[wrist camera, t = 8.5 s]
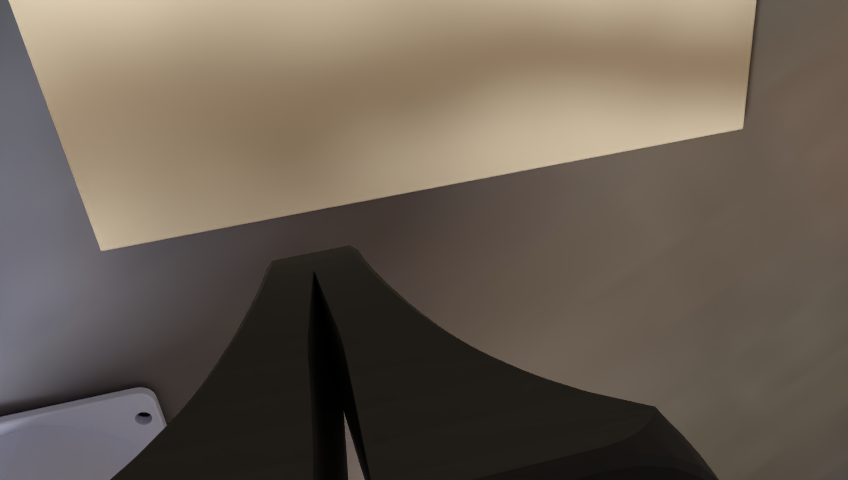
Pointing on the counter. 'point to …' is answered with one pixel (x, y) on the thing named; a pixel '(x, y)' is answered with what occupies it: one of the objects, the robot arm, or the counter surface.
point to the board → (362, 96)
